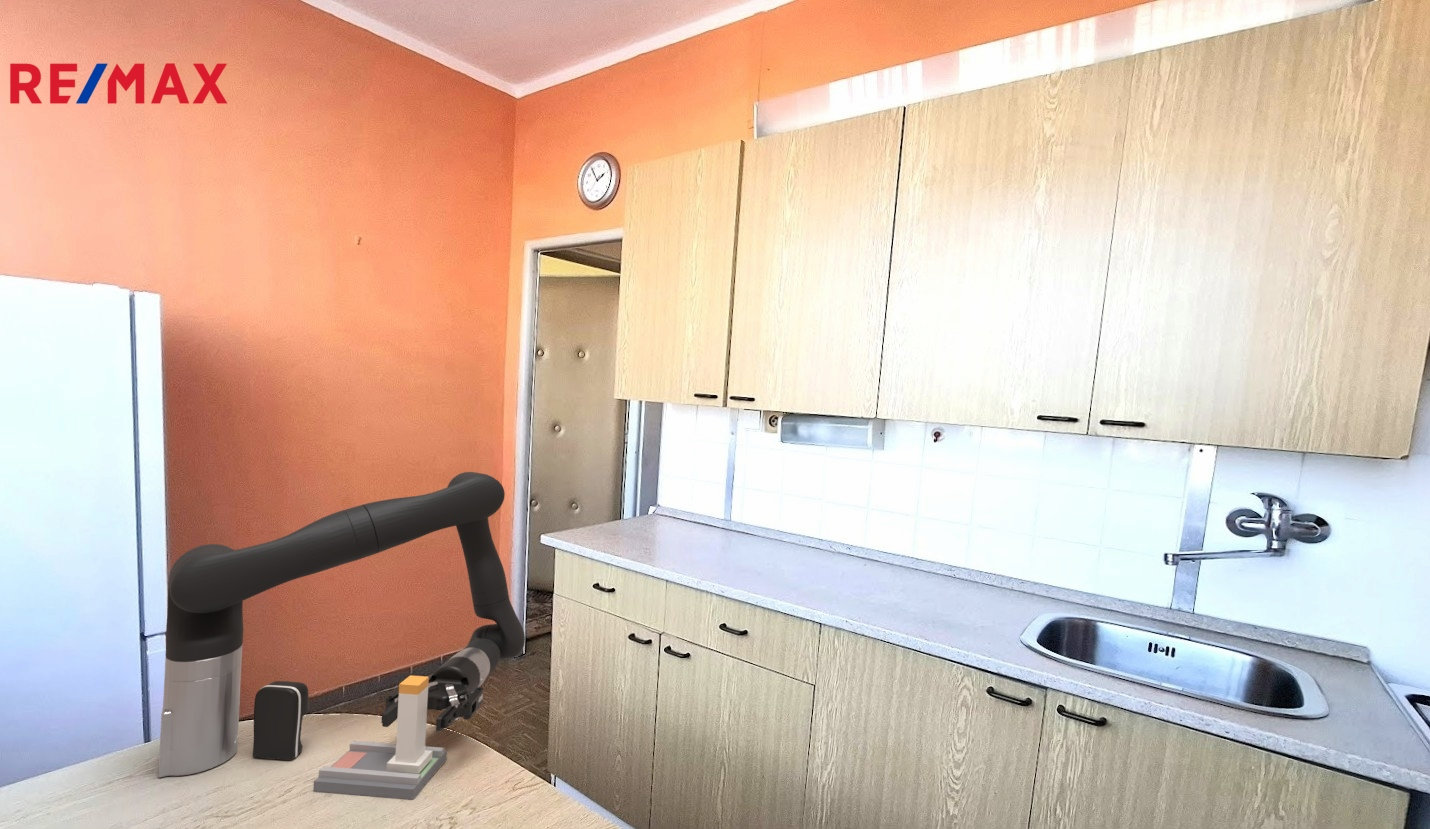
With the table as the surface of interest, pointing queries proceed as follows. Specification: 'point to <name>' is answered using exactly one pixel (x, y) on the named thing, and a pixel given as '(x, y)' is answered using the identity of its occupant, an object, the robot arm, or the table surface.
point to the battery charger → (279, 720)
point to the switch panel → (375, 772)
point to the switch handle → (411, 727)
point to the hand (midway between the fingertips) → (411, 723)
